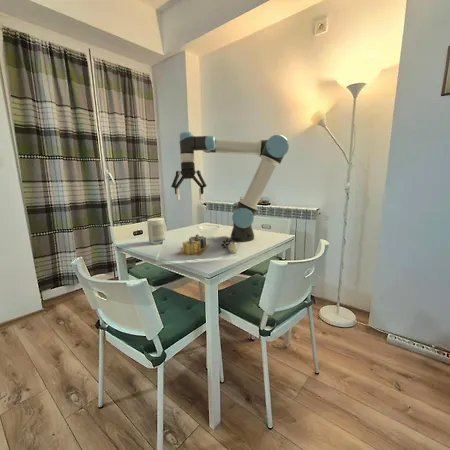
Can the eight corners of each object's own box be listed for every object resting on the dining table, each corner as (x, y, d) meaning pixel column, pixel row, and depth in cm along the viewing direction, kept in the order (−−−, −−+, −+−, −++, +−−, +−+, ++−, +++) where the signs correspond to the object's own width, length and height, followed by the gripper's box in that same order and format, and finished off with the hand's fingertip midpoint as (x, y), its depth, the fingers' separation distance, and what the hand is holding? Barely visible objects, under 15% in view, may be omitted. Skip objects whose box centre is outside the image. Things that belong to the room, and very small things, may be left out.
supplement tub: (167, 241, 159) (166, 218, 157) (159, 245, 151) (158, 220, 148) (154, 240, 162) (152, 217, 159) (145, 244, 153) (143, 220, 150)
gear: (205, 243, 145) (204, 235, 144) (206, 248, 136) (206, 239, 135) (189, 245, 144) (188, 236, 143) (189, 249, 135) (189, 240, 134)
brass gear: (197, 255, 125) (196, 245, 124) (180, 254, 127) (179, 244, 126) (202, 249, 134) (202, 240, 133) (186, 249, 136) (186, 240, 135)
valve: (241, 255, 128) (232, 249, 139) (241, 243, 127) (232, 237, 138) (228, 257, 126) (221, 250, 137) (228, 244, 125) (220, 239, 136)
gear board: (210, 247, 144) (210, 232, 142) (199, 258, 125) (199, 241, 123) (190, 246, 146) (190, 232, 145) (177, 257, 127) (176, 241, 126)
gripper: (210, 161, 142) (212, 199, 146) (169, 162, 147) (171, 199, 151) (207, 160, 135) (208, 200, 139) (163, 162, 140) (166, 200, 144)
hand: (189, 199), depth 145 cm, fingers open, 13 cm apart
